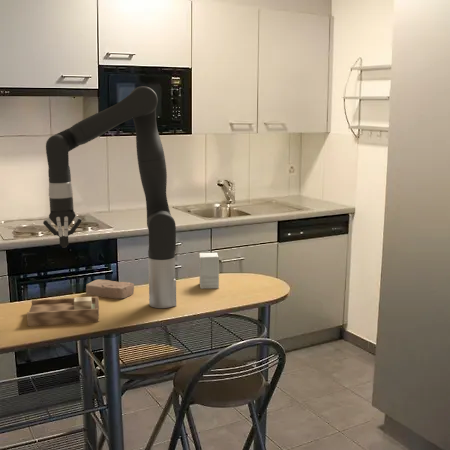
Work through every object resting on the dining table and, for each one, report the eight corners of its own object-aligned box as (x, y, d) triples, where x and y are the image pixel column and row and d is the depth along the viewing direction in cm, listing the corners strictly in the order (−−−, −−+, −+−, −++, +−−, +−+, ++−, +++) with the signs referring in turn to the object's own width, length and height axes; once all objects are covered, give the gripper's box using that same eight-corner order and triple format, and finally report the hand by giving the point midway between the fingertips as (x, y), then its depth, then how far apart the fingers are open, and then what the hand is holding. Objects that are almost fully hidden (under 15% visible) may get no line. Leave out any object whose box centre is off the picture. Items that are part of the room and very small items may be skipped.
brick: (84, 295, 228) (84, 283, 227) (98, 289, 235) (97, 277, 234) (122, 300, 221) (122, 288, 220) (135, 294, 229) (134, 282, 228)
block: (91, 304, 206) (91, 296, 205) (91, 308, 202) (91, 300, 201) (74, 305, 205) (74, 297, 204) (74, 309, 201) (73, 301, 200)
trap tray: (98, 308, 212) (98, 296, 211) (98, 321, 198) (98, 309, 197) (32, 312, 208) (31, 300, 207) (27, 326, 194) (26, 313, 193)
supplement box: (217, 283, 243) (218, 252, 240) (218, 288, 235) (219, 256, 233) (199, 283, 242) (199, 252, 240) (199, 288, 235) (199, 256, 233)
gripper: (81, 193, 207) (84, 243, 210) (40, 195, 204) (44, 245, 207) (81, 196, 200) (84, 248, 203) (39, 198, 197) (43, 250, 200)
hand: (64, 247), depth 205 cm, fingers closed
